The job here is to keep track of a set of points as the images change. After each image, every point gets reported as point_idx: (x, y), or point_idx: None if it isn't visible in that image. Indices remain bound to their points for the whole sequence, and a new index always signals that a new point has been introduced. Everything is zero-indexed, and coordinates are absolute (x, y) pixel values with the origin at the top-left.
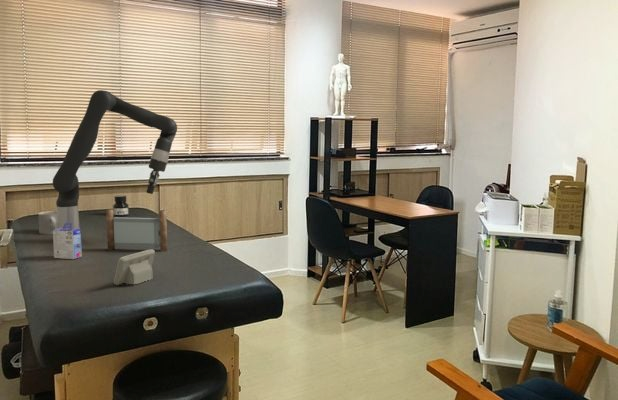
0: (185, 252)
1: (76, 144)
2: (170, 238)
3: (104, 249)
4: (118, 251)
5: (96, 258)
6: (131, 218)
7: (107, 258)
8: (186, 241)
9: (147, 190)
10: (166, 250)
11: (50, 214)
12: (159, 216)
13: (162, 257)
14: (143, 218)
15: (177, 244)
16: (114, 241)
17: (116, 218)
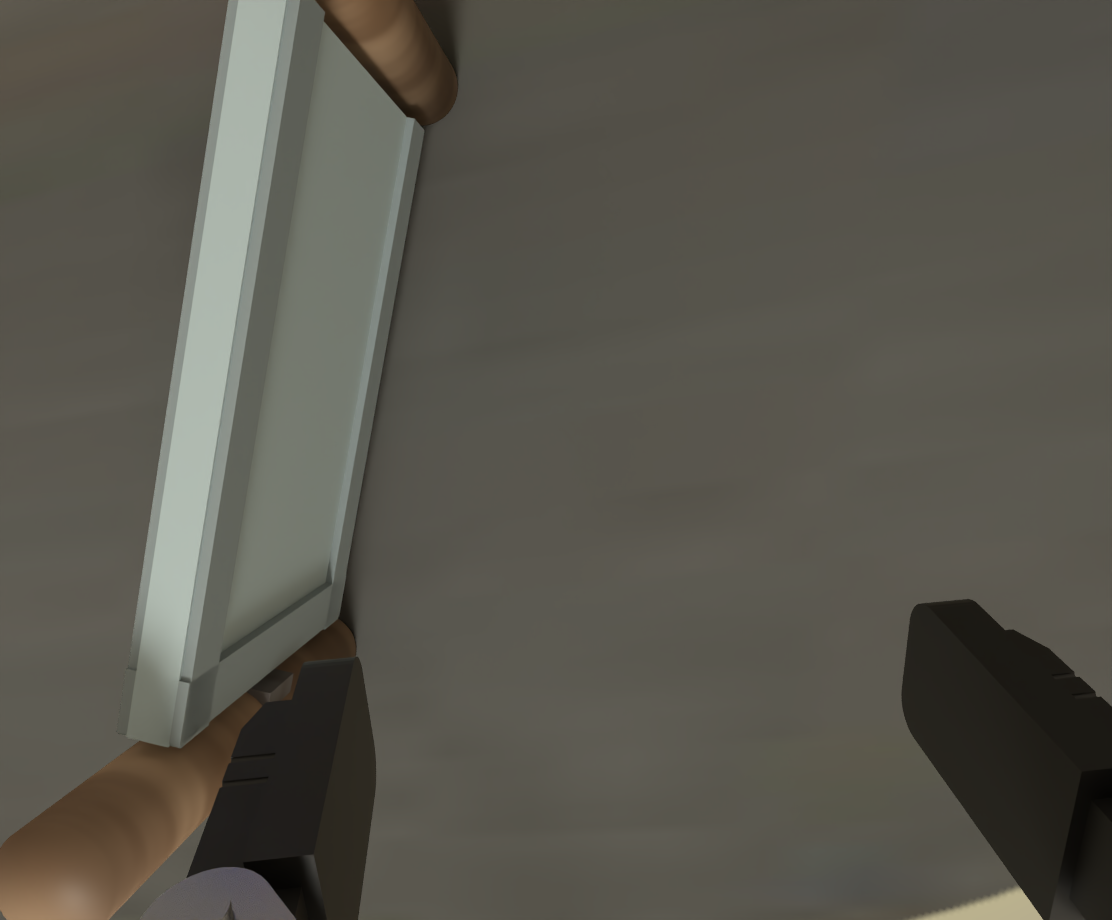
0: None
1: None
2: (889, 669)
3: (422, 11)
4: None
5: (61, 31)
6: (194, 298)
7: (55, 142)
8: (708, 851)
9: (292, 714)
10: None
11: None
12: (88, 781)
13: (65, 658)
14: (167, 502)
15: (575, 764)
16: (398, 98)
17: (224, 31)
